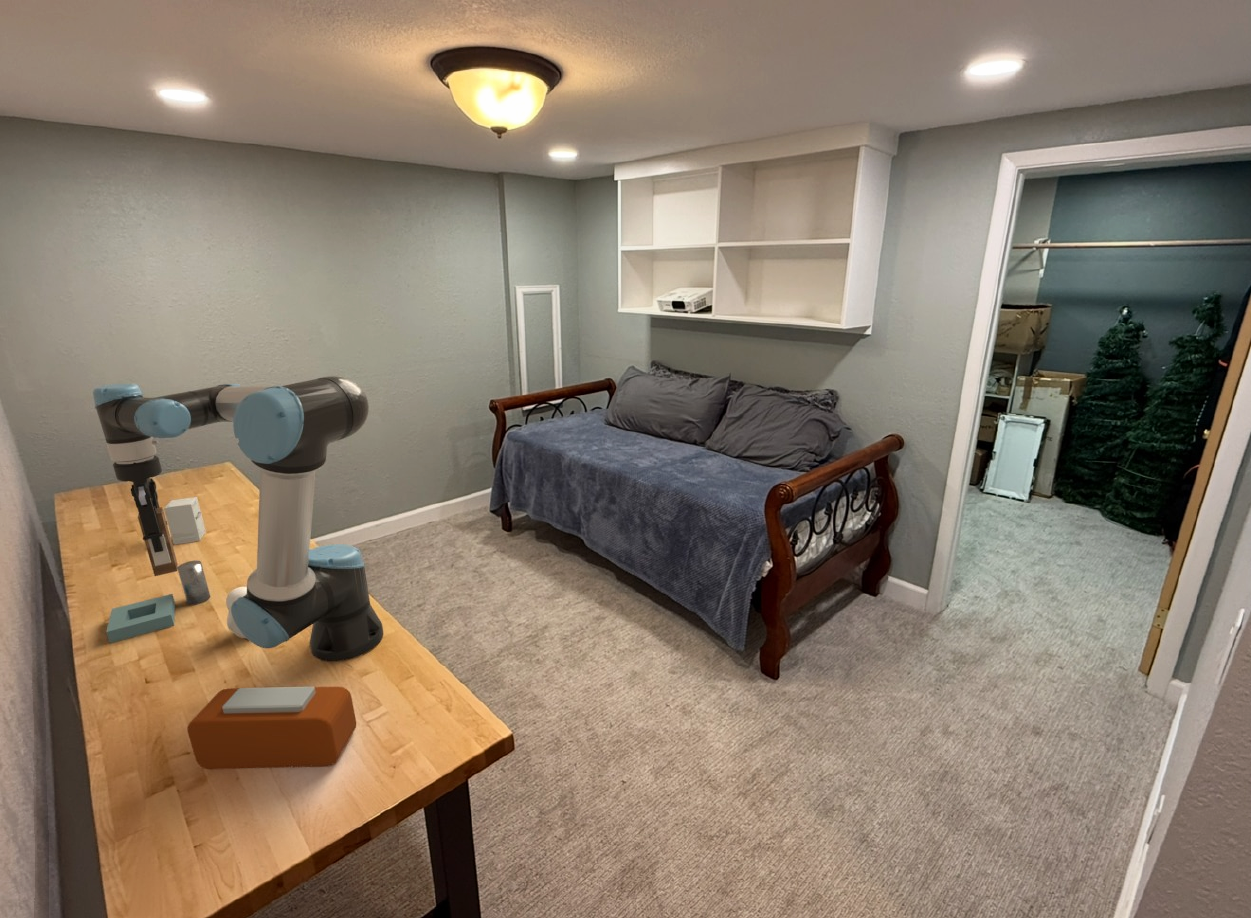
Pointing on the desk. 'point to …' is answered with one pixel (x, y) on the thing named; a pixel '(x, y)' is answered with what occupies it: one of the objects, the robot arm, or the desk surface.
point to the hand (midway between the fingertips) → (163, 559)
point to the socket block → (141, 618)
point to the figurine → (229, 601)
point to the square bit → (164, 529)
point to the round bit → (194, 582)
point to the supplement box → (185, 520)
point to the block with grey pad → (273, 727)
